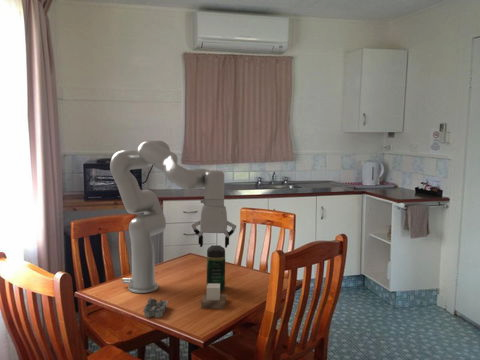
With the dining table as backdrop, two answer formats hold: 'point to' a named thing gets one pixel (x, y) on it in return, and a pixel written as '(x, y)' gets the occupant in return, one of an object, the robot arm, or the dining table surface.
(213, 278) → the coffee jar
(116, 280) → the dining table surface
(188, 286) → the dining table surface
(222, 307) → the base
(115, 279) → the dining table surface
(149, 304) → the egg carton
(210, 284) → the cube
